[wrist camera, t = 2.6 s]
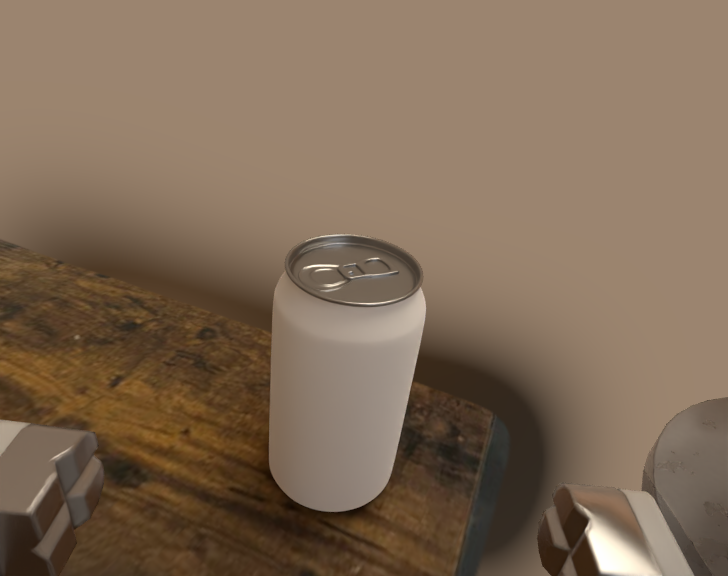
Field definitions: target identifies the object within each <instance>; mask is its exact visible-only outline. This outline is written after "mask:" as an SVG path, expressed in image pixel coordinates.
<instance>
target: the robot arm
mask: <svg viewBox="0 0 728 576" xmlns="http://www.w3.org/2000/svg"><path fill="white" fill-rule="evenodd" d="M98 446H99V445H98V442H97V438H96V434H95V432H90V431H83V430H76V429H69V428H61V427H54V426H47V425H39V424H32V423H24V422H15V421H7V420H0V576H59V575H60V573H61V572H62V570H63V568H64V566H65V564H66V562H67V561H68V559H69V557H70V555H71V553H72V551H73V549H74V548H75V546H76V544H77V541H76V536H75V531H74V530H75V529H76V528H77V527H79V526H80V525H82V524H83V523H84V522H86V521H87V520H89V519H90V518H91V516H92V514H93V512H94V510H95V508H96V506H97V504H98V502H99V499H100V495H101V492H102V489H103V485H104V469H103V464H102V462H101V461H99V460H98V459H97V458H96V457H95V456H94V455H93V454H94V453H95V451H96V449H97V447H98ZM552 498H553V501H554V504H555V505H554V506H552V507H550V508H548V509H547V510H545V511H544V512H543V514H542V517H541V519H540V521H539V526H538V538H537V539H538V548H539V554H540V558H541V562H542V565H543V567H544V568H545V569H546V570H547V571H548V573H549V574H550V575H551V576H694V574H693V573H692V571H691V569H690V567H689V565H688V563H687V561H686V559H685V557H684V555H683V553H682V551H681V550H680V548H679V546H678V544H677V542H676V540H675V538H674V536H673V534H672V532H671V530H670V528H669V526H668V525H667V523H666V521H665V519H664V517H663V515H662V513H661V511H660V509H659V507H658V505H657V503H656V502H655V500H654V498H653V497H652V496H651V495H650V494H649V493H648V492H644V491H635V490H626V489H616V488H612V487H601V486H591V485H581V484H571V483H561V484H559V485H558V486H556V488H555V490H554V492H553V494H552Z"/></svg>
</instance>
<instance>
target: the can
mask: <svg viewBox="0 0 728 576" xmlns="http://www.w3.org/2000/svg"><path fill="white" fill-rule="evenodd" d="M422 282H423V271H422V268H421V266H420V264H419V263H418V261H417V260H416V259H415V258H414V257H413V256H412V255H410V254H409V253H408V252H406V251H405V250H403V249H402V248H400V247H398V246H396V245H393V244H391V243H388V242H386V241H383V240H379V239H376V238H372V237H367V236H362V235H353V234H331V235H323V236H318V237H314V238H310V239H307V240H305V241H303V242H301V243H299V244H297V245H296V246H295V247H293V248H292V249H291V250H290V251H289V253H288V254H287V256H286V259H285V271H284V273H283V275H282V276H281V278H280V280H279V281H278V284H277V286H276V289H275V293H274V299H273V318H272V347H271V382H270V420H269V466H270V470H271V473H272V476H273V478H274V479H275V481H276V483H277V484H278V486H279V487H280V488H281V489H282V490H283V492H284V493H285V494H286V495H287V496H289V497H290V498H291V499H292V500H294V501H295V502H297V503H299V504H301V505H303V506H305V507H308V508H311V509H315V510H319V511H326V512H340V511H347V510H352V509H355V508H358V507H361V506H363V505H365V504H367V503H368V502H370V501H372V500H373V499H374V498H375V497H377V496H378V495H379V494H380V493H381V492H382V490H383V489H384V488H385V486H386V484H387V483H388V481H389V478H390V475H391V472H392V468H393V464H394V460H395V456H396V451H397V447H398V443H399V438H400V434H401V429H402V425H403V420H404V416H405V411H406V407H407V402H408V397H409V393H410V388H411V384H412V379H413V375H414V370H415V365H416V360H417V356H418V351H419V347H420V342H421V337H422V332H423V327H424V322H425V316H426V303H425V299H424V295H423V292H422V289H421V284H422Z"/></svg>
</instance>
